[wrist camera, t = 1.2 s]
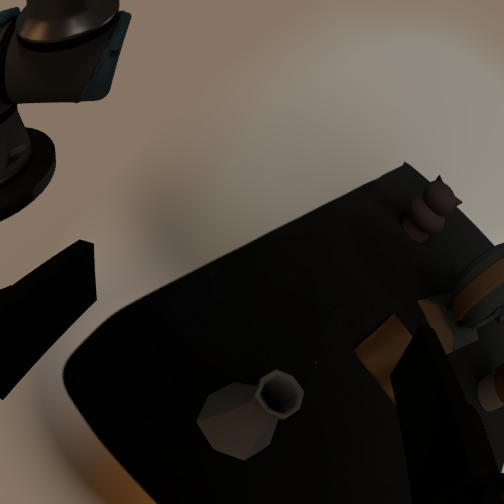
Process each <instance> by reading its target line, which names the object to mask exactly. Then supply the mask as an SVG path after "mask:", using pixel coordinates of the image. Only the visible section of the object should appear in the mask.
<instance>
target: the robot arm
mask: <svg viewBox="0 0 504 504" xmlns="http://www.w3.org/2000/svg"><path fill="white" fill-rule="evenodd" d="M118 11H119V0H27V6H26V7H25V8H24V9H23V10H22V11H21V12H20V9H19V8H18V7H15V8H10V9H7V10H4V11H1V12H0V189H2V188H4V187H5V186H7V185H9V184H10V183H12V182H13V181H14V180H16V179H17V178H18V177H19V176H20V175H21V174H22V173H23V172H24V171H25V170H26V168H27V167H28V165H29V164H30V161H31V159H32V145H31V141H30V137H29V135H28V133H27V131H26V129H25V126H24V124H23V122H22V120H21V117H20V115H19V113H18V110H17V104H20V103H21V104H22V103H51V102H74V103H79V102H81V101H97V100H101V99H103V98H104V97H105V96H106V95H107V94H108V93H109V91H110V87H111V84H112V80H113V76H114V73H115V69H116V65H117V62H118V58H119V55H120V51H121V48H122V45H123V41H124V38H125V35H126V32H127V29H128V26H129V23H130V20H131V14H130V13H127V12H125V11H119V12H118ZM96 300H97V295H96V281H95V263H94V244H93V243H90V242H87V241H84V240H78V241H76V242H75V243H73V244H72V245H70V246H69V247H67V248H66V249H64V250H63V251H61V252H59V253H58V254H57V255H55V256H53V257H52V258H51V259H49V260H47V261H46V262H45V263H43V264H42V265H40V266H39V267H37V268H36V269H34V270H33V271H32V272H30V273H29V274H27V275H26V276H24V277H23V278H22V279H20V280H19V281H18V282H16V283H15V284H13V285H12V286H11V285H10V286H8V287H6V288H3V289H0V399H2V400H4V398H5V397H6V396H7V395H8V394H9V393H10V391H11V390H12V389H13V388H14V387H15V386H16V384H17V383H18V382H19V381H20V380H21V379H22V378H23V377H24V376H25V374H26V373H27V372H28V371H29V370H30V369H31V368H32V367H33V366H34V364H35V363H36V362H37V361H38V360H39V359H40V358H41V357H42V356H43V355H44V354H45V353H46V351H47V350H48V349H49V348H50V347H51V346H52V345H53V344H54V343H55V342H56V341H57V340H58V339H59V338H60V337H61V336H62V335H63V334H64V333H65V331H66V330H67V329H68V328H69V327H70V326H71V325H72V324H73V323H74V322H75V321H76V320H77V319H78V318H79V317H80V316H81V315H82V314H83V313H84V312H85V311H86V310H87V309H88V308H89V307H90V306H91V305H92V304H93V303H94V302H95V301H96ZM390 380H391V384H392V388H393V393H394V397H395V402H396V407H397V412H398V417H399V422H400V427H401V433H402V438H403V444H404V450H405V456H406V462H407V469H408V476H409V483H410V491H411V500H412V504H504V473H499V470H498V467H497V464H496V461H495V458H494V455H493V451H492V448H491V445H490V443H489V440H488V439H487V434H486V431H485V429H483V428H484V426H483V423H482V420H481V418H480V415H479V414H478V413H477V411H476V410H475V409H474V407H473V406H472V405H471V404H467V402H466V399H465V397H464V394H463V392H462V389H461V387H460V384H459V382H458V380H457V377H456V375H455V373H454V370H453V368H452V366H451V363H450V361H449V359H448V357H447V355H446V352H445V350H444V348H443V346H442V344H441V342H440V340H439V338H438V336H437V333H436V331H435V329H434V328H429V327H424V326H418V328H417V330H416V332H415V333H414V335H413V337H412V339H411V341H410V342H409V344H408V346H407V348H406V349H405V351H404V353H403V354H402V356H401V358H400V359H399V361H398V363H397V364H396V366H395V368H394V369H393V371H392V373H391V374H390Z"/></svg>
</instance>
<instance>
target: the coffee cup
mask: <svg viewBox="0 0 504 504" xmlns="http://www.w3.org/2000/svg"><path fill="white" fill-rule="evenodd" d="M477 392H478V398H479V401H480V404H481V406H482V407H483V408H484V409H485V410H486V411H493V410H495V409H498V408H500V407H503V406H504V363H503V364H502V365H501V366H499V367H498V368H497V369H496V370H494V371H493V372H492V373H490V374H489V375H487V376H486V377H485V378H483V379H482V380H480V382H479V384H478V389H477Z"/></svg>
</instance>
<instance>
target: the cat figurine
mask: <svg viewBox="0 0 504 504" xmlns="http://www.w3.org/2000/svg"><path fill="white" fill-rule="evenodd" d="M461 203H462V201H460V200H459V199H458V198H457V197H455V195H454V193H453V191H452V190H451V188H450V187H449V186H448V185H446V184H445V183H443V181H442V179H441V177H440V175H439V176H438V177H437V179H436V180H435V181H432V182H430V183H429V184H427V185H426V187H425V188H424V192H423V195H418V196H415V197H414V198H413V199H412V200H411V201H410V203H409V215H407V216H406V217H405V218H404V219H403V220H402V226H403V228H404V230H405V232H406V233H407V234H408V235H409V236H410V237H411V238H412V239H414V240H415V241H417V242H419V243H424V242H425V241H426V240H427V239H428V238H429V235H430V234H436V233H438V232H440V231H441V230H442V228H443V227H444V224H445V217H444V216H447V215H449V214H451V213H452V211H453V210H454V208H455V207H456V206H458V205H459V204H461Z"/></svg>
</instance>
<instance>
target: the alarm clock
mask: <svg viewBox="0 0 504 504" xmlns="http://www.w3.org/2000/svg"><path fill="white" fill-rule="evenodd" d="M418 303H419V305H420V307H421V309H422V311H423V313H424V315H425V317H426V319H427V322H428V324H429V326H430V328H434V329H435V331H436V333H437V336H438V338H439V340H440V342H441V344H442V346H443V348H444V350H445V352H446V354H449V353H451V352H453V351H455V350H458V349H460V348H462V347H464V346H466V345H468V344H470V343H472V342H474V341H476V340H478V335H477V331H476V328H479V327H481V326H483V325H485V324H487V323H488V322H490V321H491V320H493V319H495V318H496V317H497V316H499V315H500V314H502V313H503V312H504V243H502V244H498V245H496V246H493V247H492V248H490V249H488V250H487V251H485V252H484V253H482V254H481V255H480V256H478V257H477V258H476V259H475V260H473V261H472V262H471V263H470V264H469V265H468V266H467V267H466V268H465V269H464V270H463V271H462V272H461V273H460V274H459V275H458V277H457V278H456V280H455V281H454V283H453V285H452V287H451V293H450V294H445V295H439V296H433V297H429V298H427V299H422V300H418Z"/></svg>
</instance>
